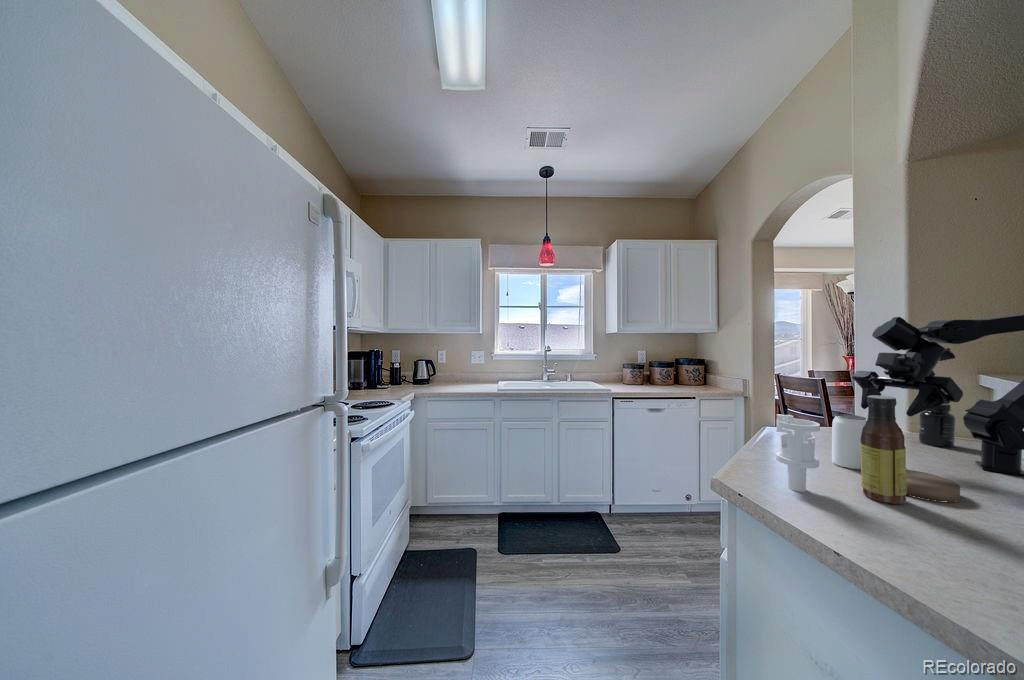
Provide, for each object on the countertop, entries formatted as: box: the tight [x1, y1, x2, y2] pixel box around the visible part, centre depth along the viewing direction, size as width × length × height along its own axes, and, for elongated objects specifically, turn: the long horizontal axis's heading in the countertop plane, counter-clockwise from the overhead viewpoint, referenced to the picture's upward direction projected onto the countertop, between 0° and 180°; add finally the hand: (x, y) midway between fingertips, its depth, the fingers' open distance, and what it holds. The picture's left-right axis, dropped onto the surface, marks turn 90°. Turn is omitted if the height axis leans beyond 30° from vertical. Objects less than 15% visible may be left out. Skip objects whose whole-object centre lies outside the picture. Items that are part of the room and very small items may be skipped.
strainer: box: [775, 413, 821, 493], centre depth 77 cm, size 7×7×15 cm
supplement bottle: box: [918, 403, 956, 449], centre depth 107 cm, size 7×7×12 cm
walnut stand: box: [906, 468, 961, 503], centre depth 76 cm, size 11×11×2 cm
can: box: [831, 413, 867, 471], centre depth 90 cm, size 6×6×12 cm
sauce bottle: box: [860, 395, 907, 505], centre depth 72 cm, size 6×6×20 cm
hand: (884, 411), depth 89 cm, fingers open, 9 cm apart
